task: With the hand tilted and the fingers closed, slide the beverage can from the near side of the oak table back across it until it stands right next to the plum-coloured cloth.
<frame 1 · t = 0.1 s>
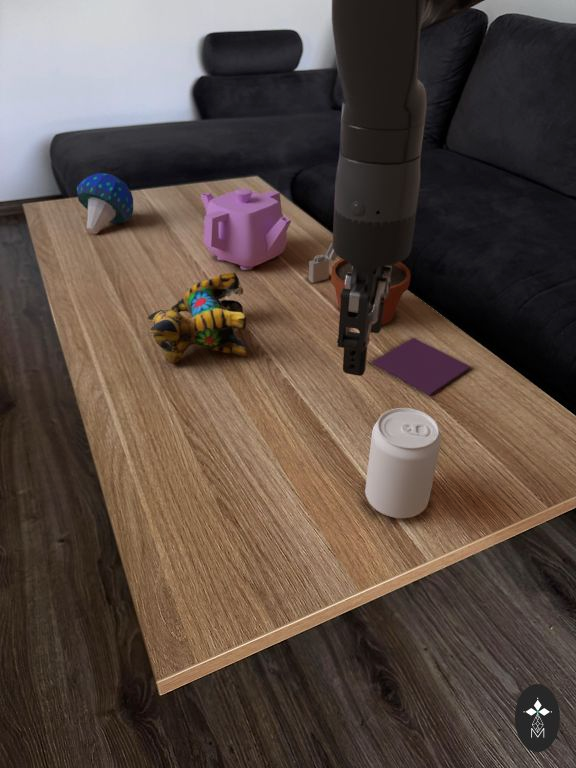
hand: (362, 350, 64), 22 cm above the table, tool pointing down, fingers open, 8 cm apart
lighter: (324, 278, 126), on the table
mushroom: (109, 226, 148), on the table
striped cat figurine: (202, 342, 106), on the table
teapot: (246, 257, 134), on the table
beverage can: (396, 498, 76), on the table
cloth: (421, 366, 100), on the table
potted plant: (365, 314, 114), on the table
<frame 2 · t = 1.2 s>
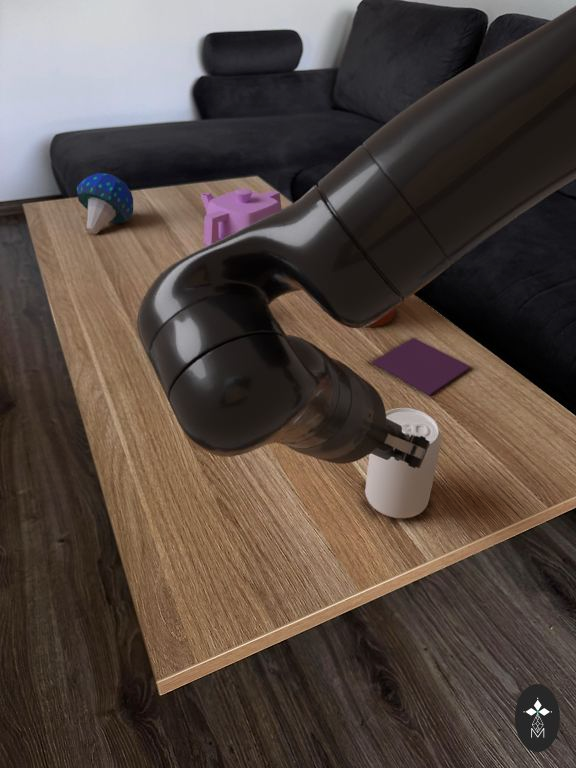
hand: (379, 438, 61), 16 cm above the table, tool tilted 45°, fingers open, 5 cm apart
nothing on the table moved.
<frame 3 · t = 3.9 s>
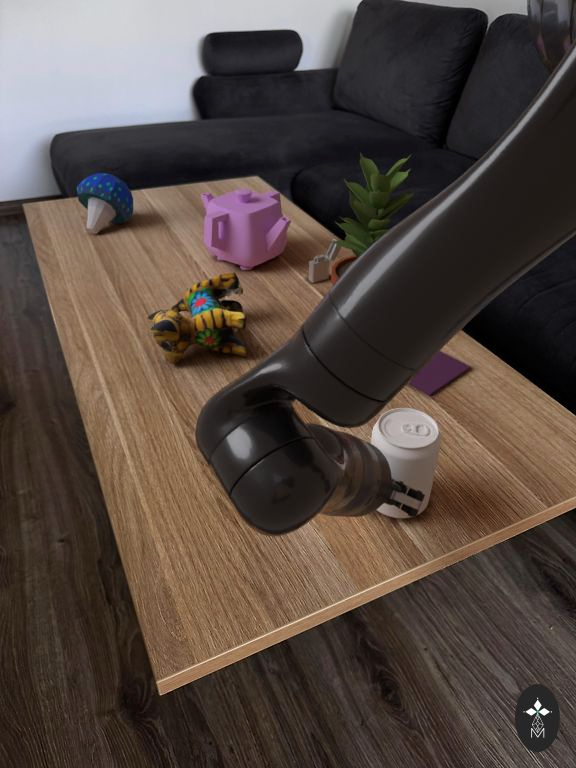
hand: (386, 485, 70), 6 cm above the table, tool tilted 45°, fingers closed
nothing on the table moved.
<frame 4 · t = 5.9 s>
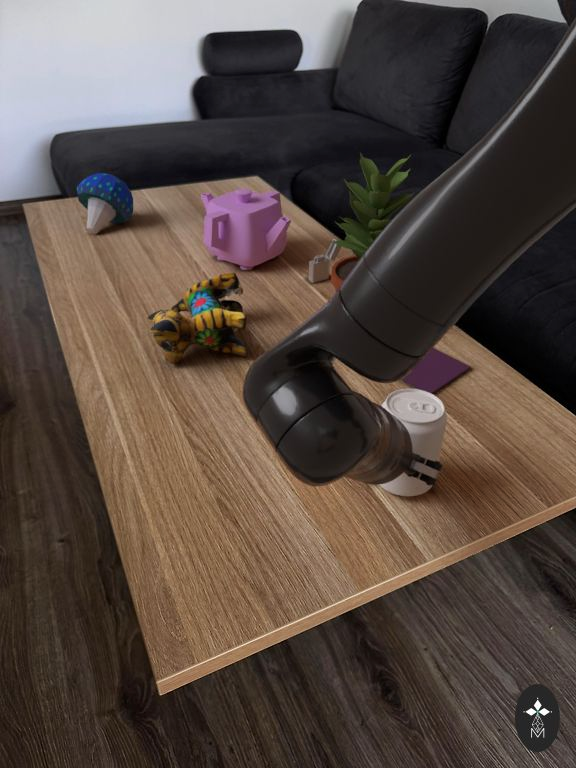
hand: (401, 461, 73), 6 cm above the table, tool tilted 45°, fingers closed
beverage can: (402, 479, 79), on the table, touching gripper
everything else where it was.
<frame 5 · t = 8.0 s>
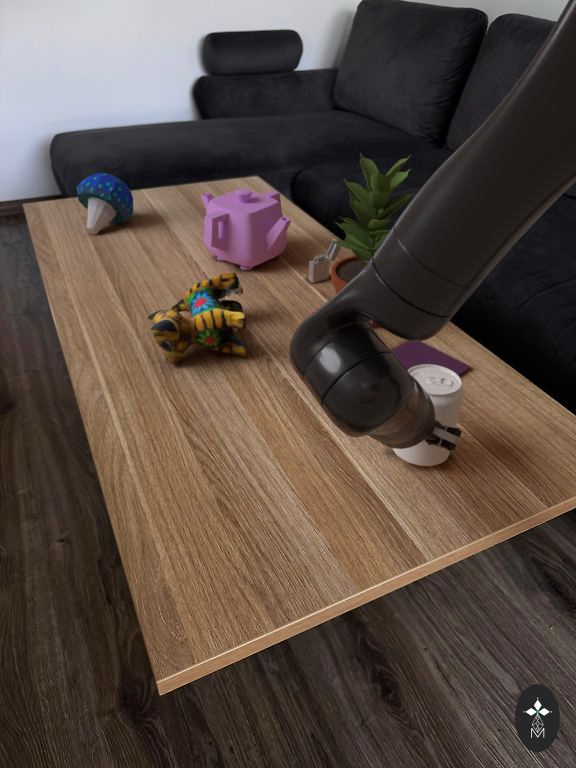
hand: (420, 432, 77), 6 cm above the table, tool tilted 45°, fingers closed
beverage can: (419, 451, 83), on the table, touching gripper
everything else where it was.
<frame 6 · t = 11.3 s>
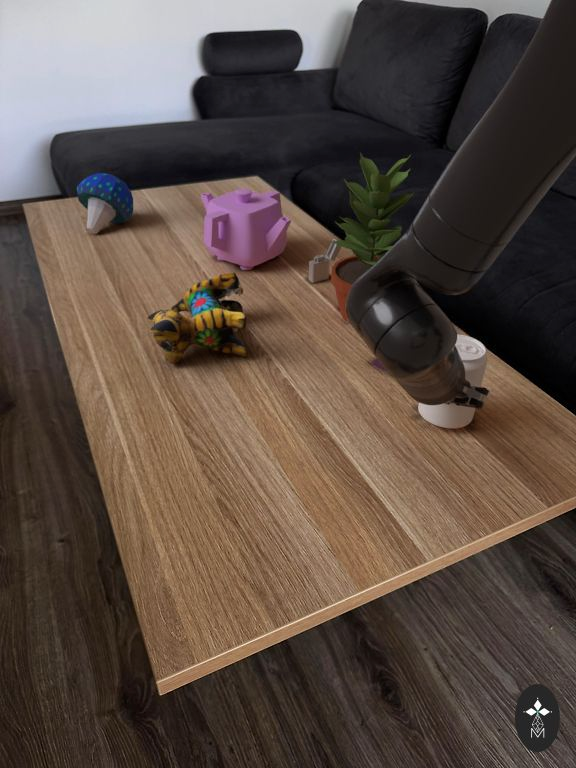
hand: (447, 396, 83), 6 cm above the table, tool tilted 45°, fingers closed
beverage can: (444, 416, 89), on the table, touching gripper
everything else where it was.
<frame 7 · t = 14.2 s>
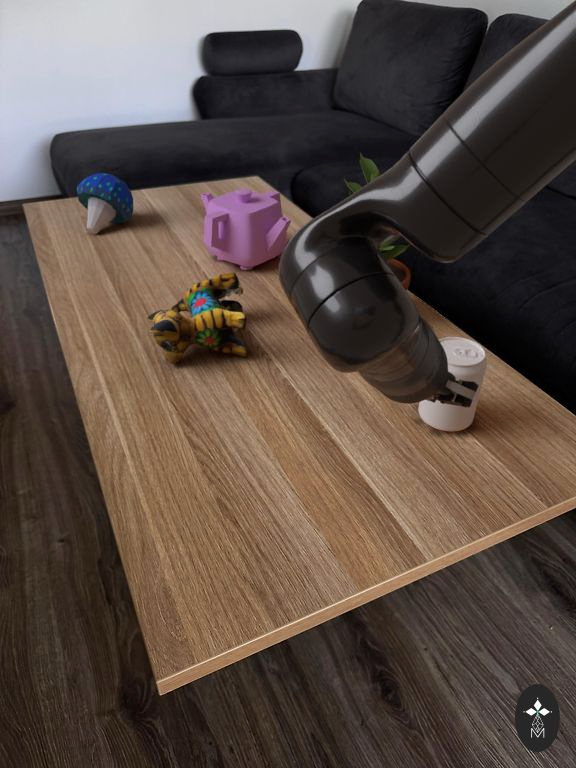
hand: (432, 392, 70), 14 cm above the table, tool tilted 45°, fingers closed
beverage can: (444, 417, 89), on the table
everything else where it was.
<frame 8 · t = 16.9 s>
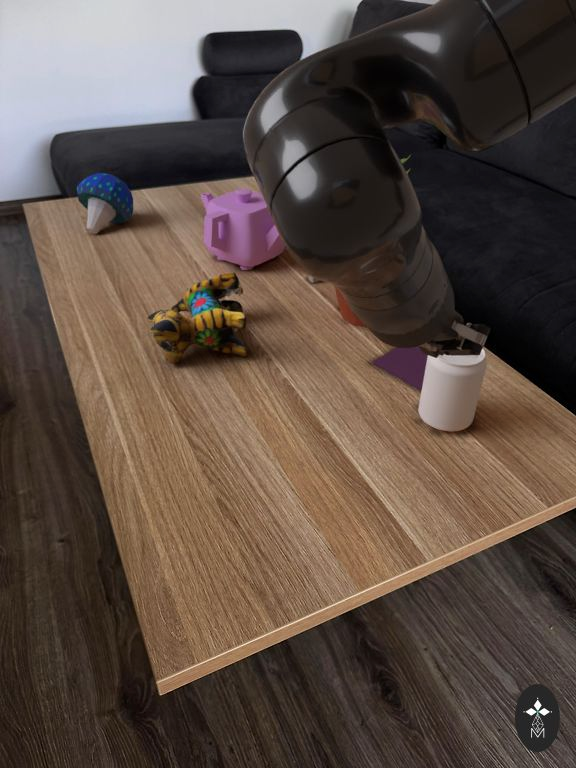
hand: (434, 347, 61), 24 cm above the table, tool tilted 45°, fingers closed
nothing on the table moved.
at the end: beverage can inside the target area on the table beside the cloth (7.1 cm from its centre), on the table; beverage can tilted 0°; beverage can moved 18.8 cm from its start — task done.
